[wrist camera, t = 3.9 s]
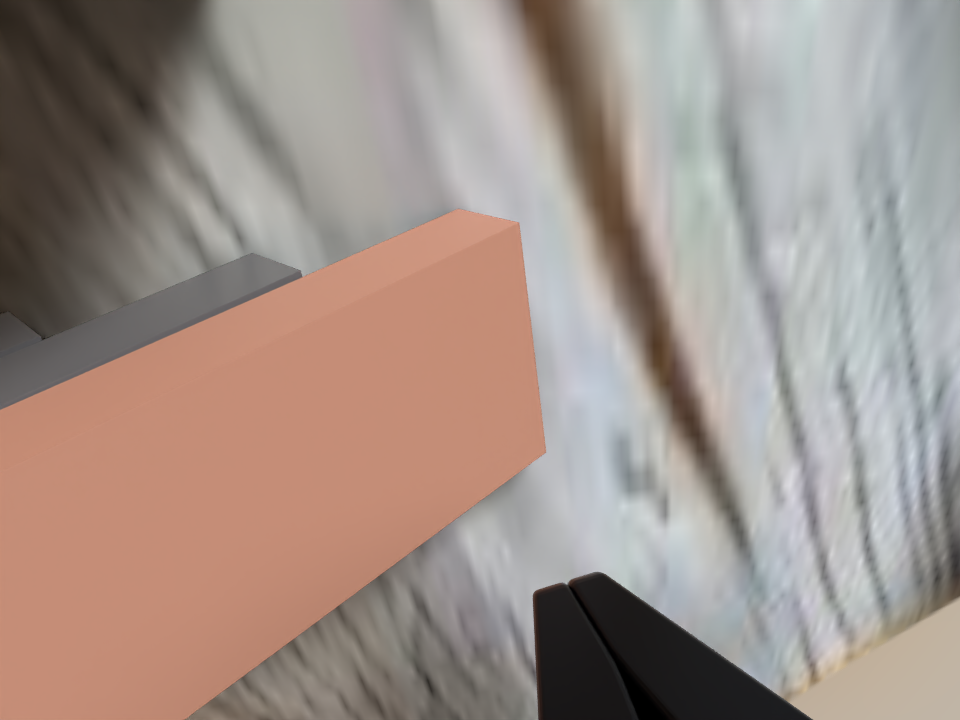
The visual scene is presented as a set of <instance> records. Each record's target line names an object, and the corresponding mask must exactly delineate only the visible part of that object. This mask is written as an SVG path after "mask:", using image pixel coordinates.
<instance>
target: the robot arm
mask: <svg viewBox="0 0 960 720" xmlns="http://www.w3.org/2000/svg"><path fill="white" fill-rule="evenodd" d="M533 613H534V634H535V656H536V677H537V698H538V720H813V719H811V718H810V717H808V716H807V715H806V714H804V713H802V712H801V711H800V710H798V709H797V708H796V707H794V706H793V705H791V704H790V703H788V702H787V701H786V700H784V699H783V698H781V697H780V696H778V695H777V694H776V693H774V692H773V691H771V690H770V689H768V688H767V687H766V686H764V685H763V684H761V683H760V682H758V681H757V680H756V679H754V678H753V677H751V676H750V675H748V674H747V673H746V672H744V671H743V670H741V669H740V668H738V667H737V666H736V665H734V664H733V663H731V662H730V661H728V660H727V659H726V658H724V657H723V656H721V655H720V654H718V653H717V652H716V651H714V650H713V649H711V648H710V647H708V646H707V645H706V644H704V643H703V642H701V641H700V640H698V639H697V638H696V637H694V636H693V635H691V634H690V633H688V632H687V631H686V630H684V629H683V628H681V627H680V626H678V625H677V624H676V623H674V622H673V621H671V620H670V619H668V618H667V617H666V616H664V615H663V614H661V613H660V612H659V611H657V610H656V609H654V608H653V607H651V606H650V605H649V604H647V603H646V602H644V601H643V600H641V599H640V598H639V597H637V596H636V595H634V594H633V593H631V592H630V591H629V590H627V589H626V588H624V587H623V586H621V585H620V584H619V583H617V582H616V581H614V580H613V579H611V578H610V577H609V576H607V575H606V574H604V573H601V572H594V573H590V574H587V575H584V576H581V577H577V578H574V579H572V580H570V581H569V582H568V585H566V584H565V583H558V584H555V585H552V586H548V587H545V588H542V589H539V590H536V591H535V592H534V594H533Z"/></svg>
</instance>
